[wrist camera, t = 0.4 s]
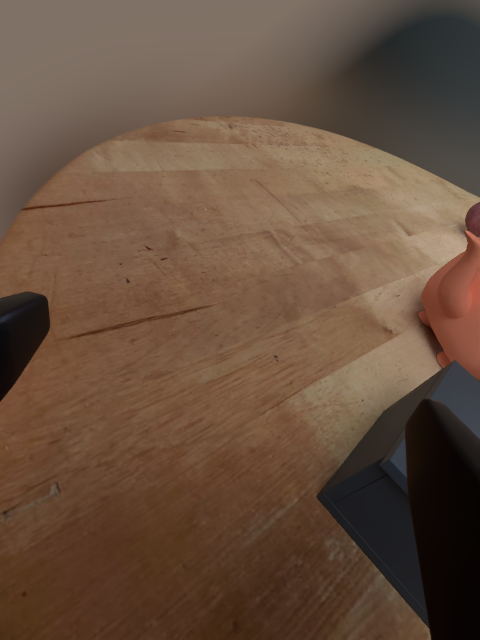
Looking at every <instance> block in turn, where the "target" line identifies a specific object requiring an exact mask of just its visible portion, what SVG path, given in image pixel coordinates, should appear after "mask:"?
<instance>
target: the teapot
mask: <svg viewBox="0 0 480 640" xmlns="http://www.w3.org/2000/svg"><path fill="white" fill-rule="evenodd" d="M465 234H466V237H467V242H468V244H467V249H466V251H465V252H463V253H461V254H460V255H458V256H457V257H455V258H454V259H452V260H451V261H450V262H448V263H447V264H446V265H444V266H443V267H442V268H441V269H440V270H438V271H437V272H436V273H435V274H434V275H433V276H432V277H431V278H430V279H429V281H428V282H427V284H426V286H425V288H424V290H423V292H422V301H423V305H424V308H425V311H420V312H419V317H420V319H421V321H422V322H423V323H424V324H426V325H427V326H429V327H431V328H432V329H433V331H434V333H435V335H436V337H437V339H438V341H439V343H440V344H441V346H442V348H443V350H444V351H442V352H441V353H439V354H438V355H437V360H438V362H439V364H440V365H441V367H442V368H444V367H446V366H447V365H448V364H450V363H451V362H453V361H454V360H456V361H457V362H458V363H459V364H460V365H461V366H462V367H463V368H465V369H466V370H467V371H468V372H469V373H470V374H471V375H472V376H474V377H475V378H476V379H477V380H479V381H480V239H479V238H478V237H476V236H475V235H474V234H472V233H471V232H469V231H467V230H465Z"/></svg>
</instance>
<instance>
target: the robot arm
mask: <svg viewBox="0 0 480 640" xmlns="http://www.w3.org/2000/svg"><path fill="white" fill-rule="evenodd" d="M49 328H50V318H49V308H48V300H47V298H46V297H45V296H44V295H41V294H37V293H33V292H23V293H19V294H15V295H11V296H7V297H3V298H0V401H1V400H2V399H3V398H4V397H5V395H6V394H7V393H8V392H9V390H10V389H11V388H12V387H13V385H14V384H15V382H16V381H17V380H18V378H19V377H20V375H21V374H22V372H23V371H24V369H25V368H26V366H27V365H28V363H29V361H30V360H31V358H32V357H33V355H34V354H35V352H36V351H37V349H38V348H39V346H40V345H41V343H42V342H43V340H44V338H45V337H46V335H47V334H48V331H49ZM405 448H406V470H407V487H408V497H409V504H410V510H411V516H412V523H413V529H414V535H415V541H416V547H417V554H418V560H419V566H420V572H421V578H422V585H423V591H424V597H425V603H426V609H427V616H428V622H429V628H430V634H431V640H480V438H479V437H478V436H477V435H476V434H475V433H474V432H473V431H472V430H471V429H470V428H469V427H468V426H466V425H465V424H464V423H463V422H462V421H461V420H460V419H459V418H458V417H457V416H456V415H455V414H454V413H453V412H452V411H451V410H450V409H449V408H448V407H447V406H446V405H445V404H444V403H442V402H439V401H435V400H431V399H423V400H422V401H421V402H420V403H419V404H418V406H417V407H416V409H415V410H414V412H413V413H412V415H411V416H410V417H409V419H408V420H407V422H406V425H405Z"/></svg>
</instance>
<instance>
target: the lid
mask: <svg viewBox="0 0 480 640" xmlns="http://www.w3.org/2000/svg"><path fill="white" fill-rule="evenodd" d="M425 399H431V400H435V401H439V402H442V403H444V404H445V405H446V406H447V407H448V408H449V409H450V410H451V411H452V412H453V413H454V414H455V415H456V416H457V417H458V418H459V419H460V420H461V421H462V422H463V423H464V424H465V425H466V426H468V427H469V428H470V429H471V430H472V431H473V432H474V433H475V434H476V435H477V436H478V437H479V438H480V382H479V381H478V380H477V379H476V378H475V377H474V376H472V375H471V374H470V373H469V372H468V371H467V370H466V369H465V368H463V367H462V366H461V365H460V364H459V363H458V362H457V361H456V360H454V361H453V362H451V363H450V364H448V365H447V366H446V368H445V369H444V371H443V372H442V373H441V375H440V376H439V378H438V379H437V381H436V382H435V384H434V385H433V387H432V388H431V390H430V391H429V393H428V394H427V396H426V397H425ZM380 466H381V467H382V468H383V469H384V470H385V471H386V473H387V474H388V475H389V476H390V477H391V478H392V479H393V480H394V481H395V482H396V483H397V484H398V485H399V486H400V487H401V488H402V489H403V491H404V492H405V493H406V494H407V495H408V487H407V470H406V448H405V428H404V430H403V431H402V433H401V434H400V436H399V437H398V439H397V440H396V442H395V443H394V445H393V446H392V448H391V449H390V451H389V452H388V454H387V455H386V457H385V458H384V460H383V461H382V462H381V464H380Z"/></svg>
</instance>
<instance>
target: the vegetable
mask: <svg viewBox="0 0 480 640" xmlns="http://www.w3.org/2000/svg"><path fill="white" fill-rule="evenodd" d="M465 223H466V227H467V229H468V230H467V231H469V232H471V233H472V234H474V235H475V236H476V237H480V202H479V203H477V204H475V205H473V206H472V207H471V208H470V209H469V211H468V212H467V215H466V218H465Z"/></svg>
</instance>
